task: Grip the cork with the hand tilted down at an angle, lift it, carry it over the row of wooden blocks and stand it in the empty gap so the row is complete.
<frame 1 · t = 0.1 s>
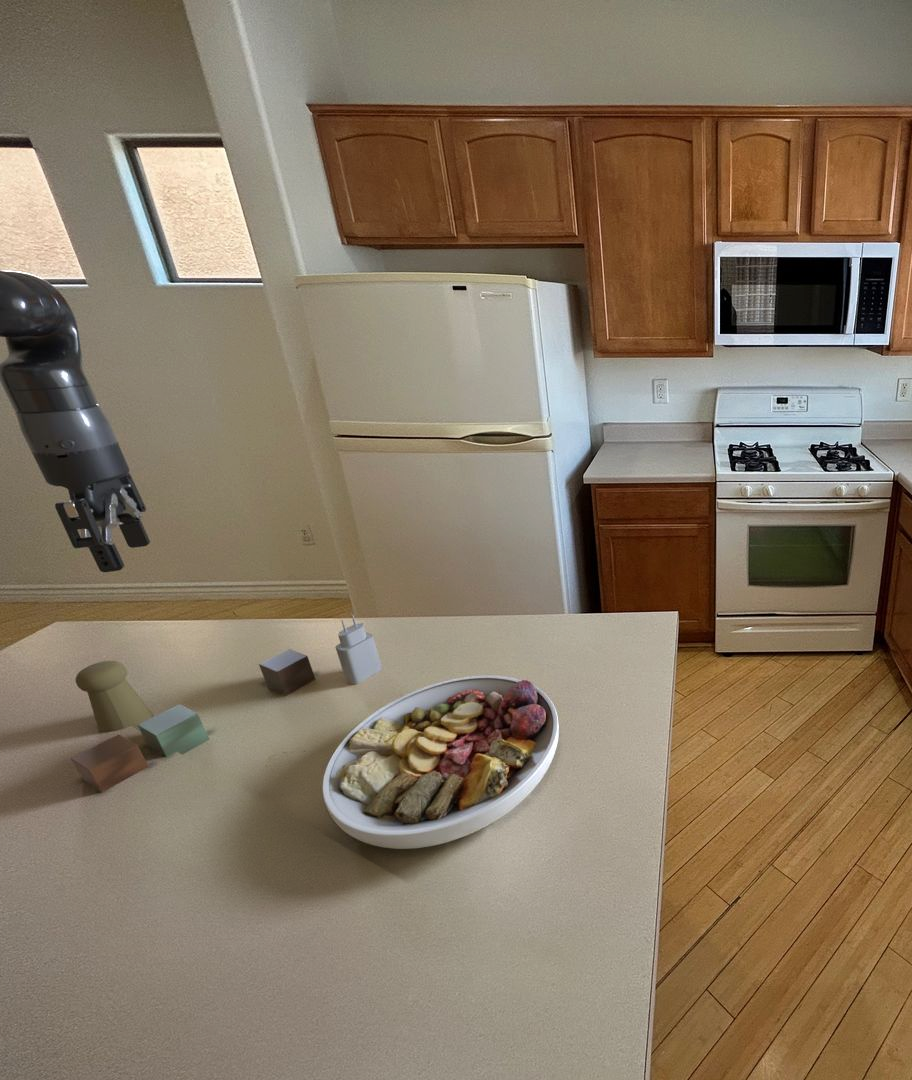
hand: (127, 557, 77), 29 cm above the counter, tool pointing down, fingers open, 8 cm apart
power adapter: (364, 675, 100), on the counter
cork: (127, 724, 87), on the counter
block row: (211, 727, 87), on the counter
bowl: (455, 768, 80), on the counter
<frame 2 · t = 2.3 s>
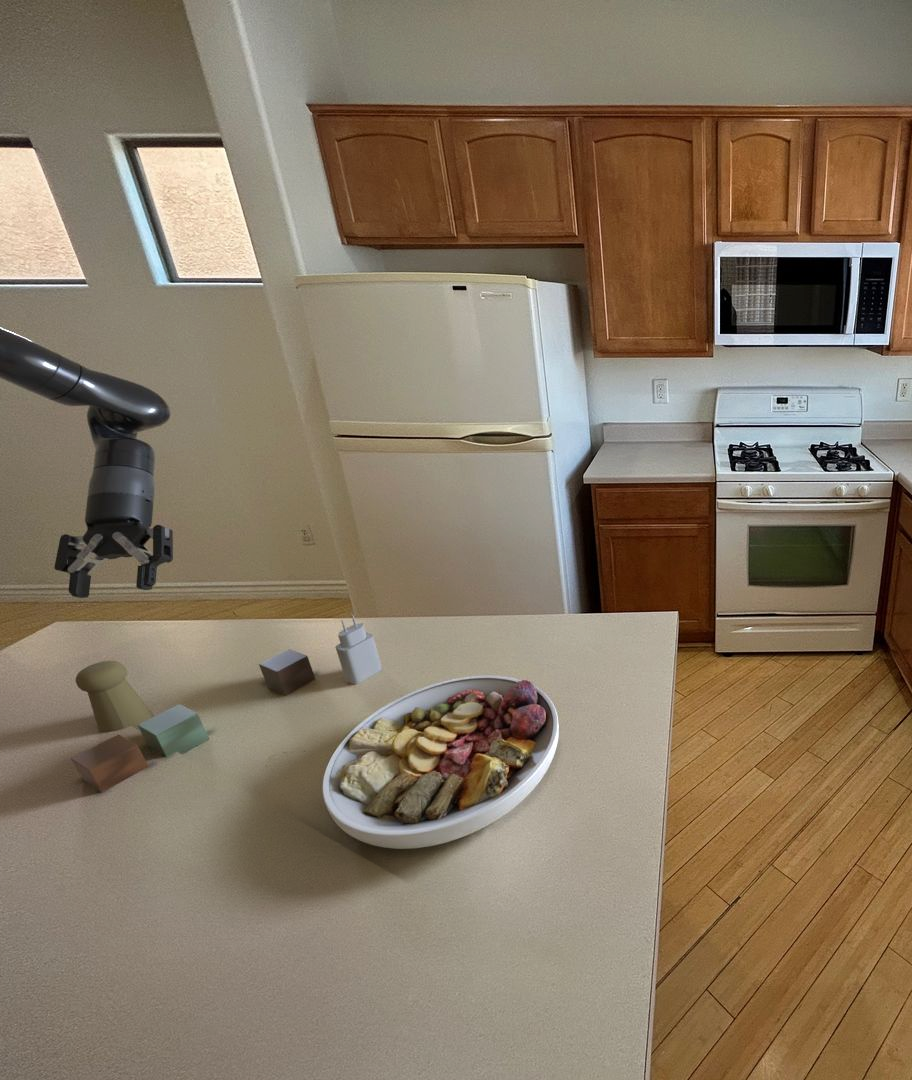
hand: (112, 593, 88), 19 cm above the counter, tool tilted 40°, fingers open, 8 cm apart
nothing on the counter moved.
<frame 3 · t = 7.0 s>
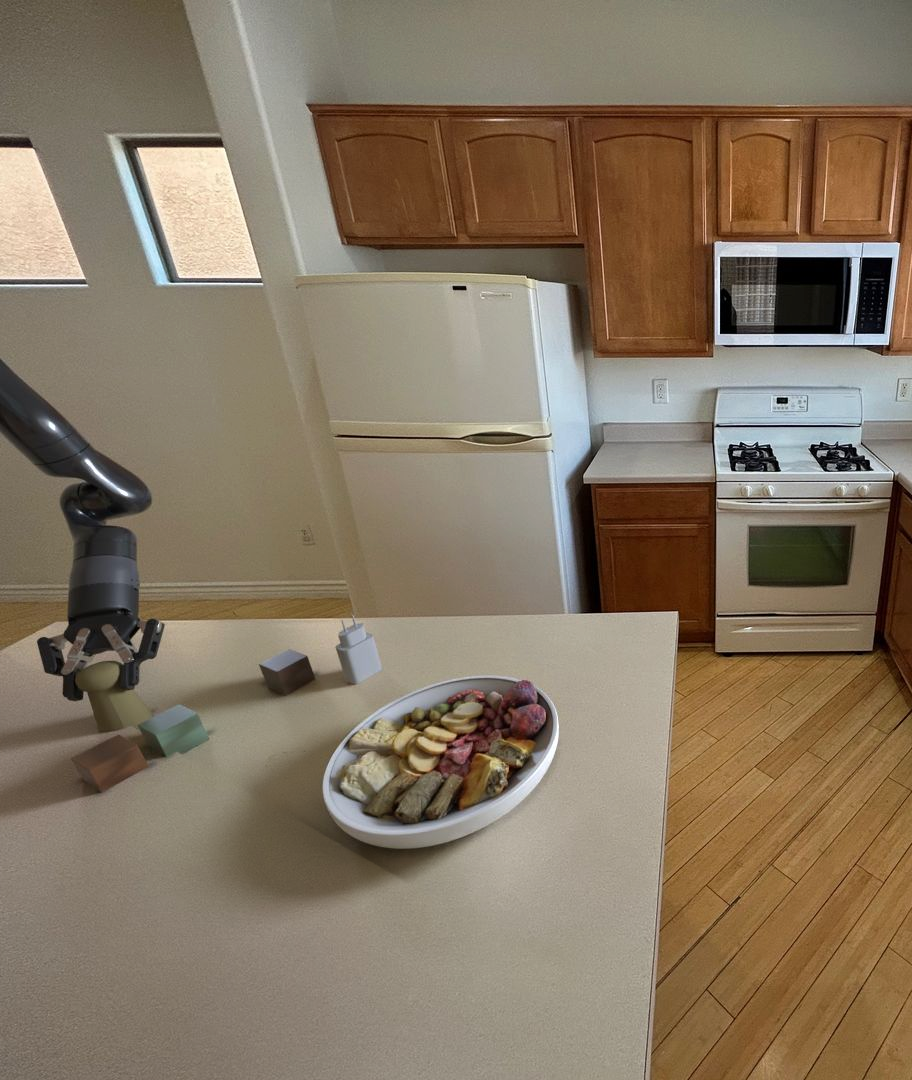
hand: (101, 694, 83), 7 cm above the counter, tool tilted 45°, fingers closed on cork, 5 cm apart
cork: (127, 724, 87), on the counter, touching gripper
everything else where it was.
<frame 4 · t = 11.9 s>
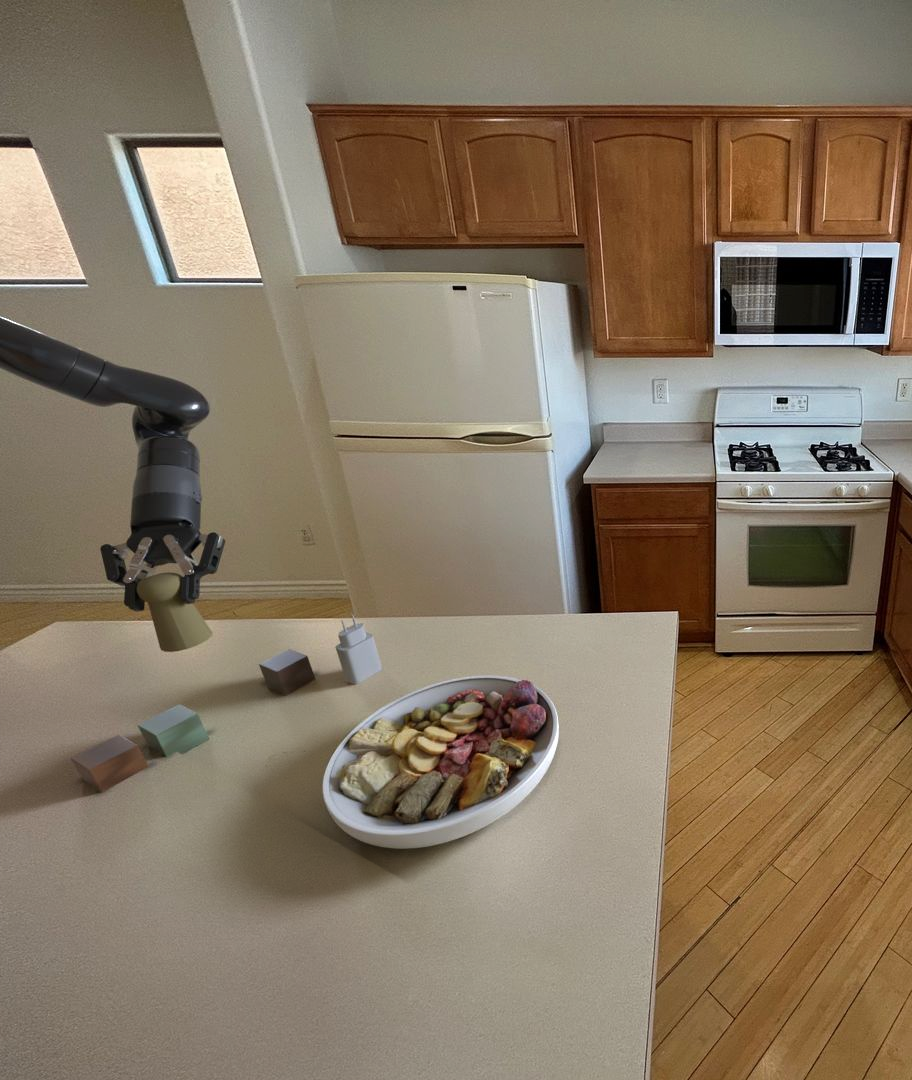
hand: (162, 605, 80), 21 cm above the counter, tool tilted 45°, fingers closed on cork, 5 cm apart
cork: (187, 641, 84), point 14 cm above the counter, touching gripper
everything else where it was.
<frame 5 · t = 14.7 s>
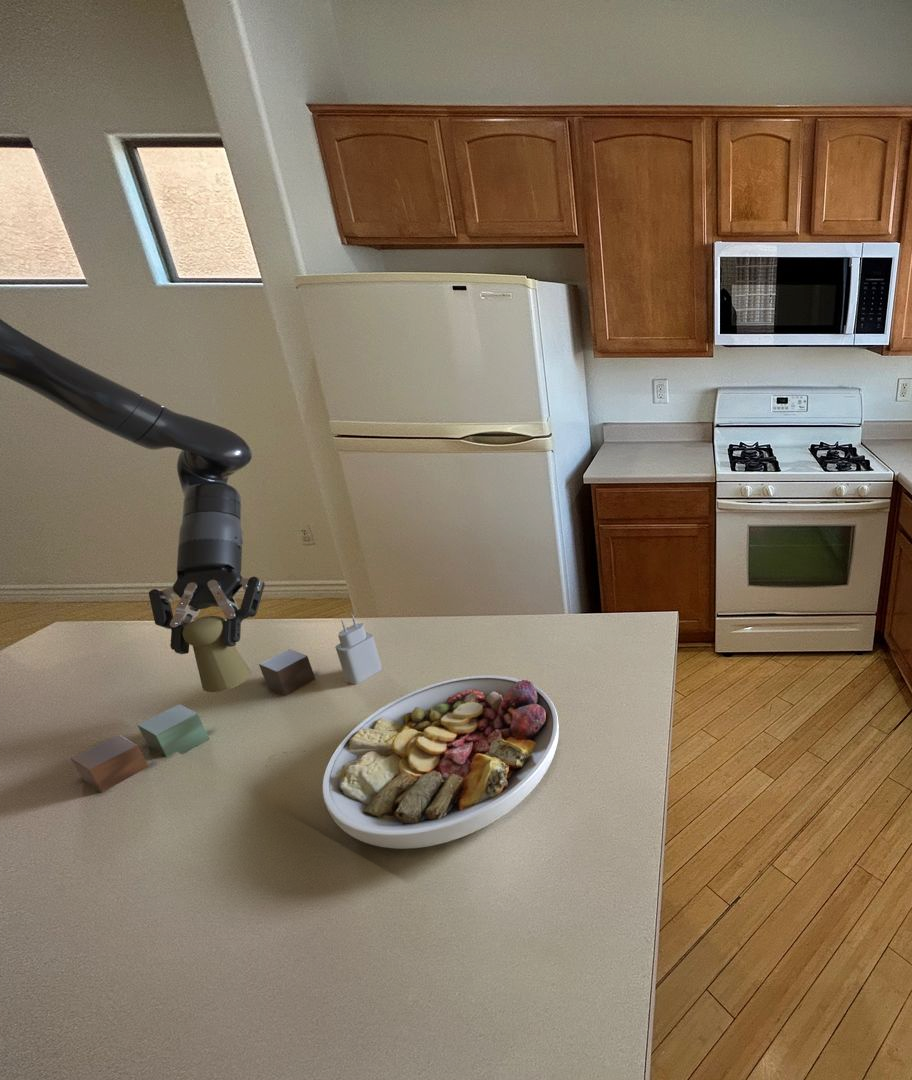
hand: (206, 648, 83), 14 cm above the counter, tool tilted 45°, fingers closed on cork, 5 cm apart
cork: (227, 680, 88), point 6 cm above the counter, touching gripper
everything else where it was.
when the fingers open (7 cm above the counter, at t = 16.9 s): cork stays where it is, on the counter.
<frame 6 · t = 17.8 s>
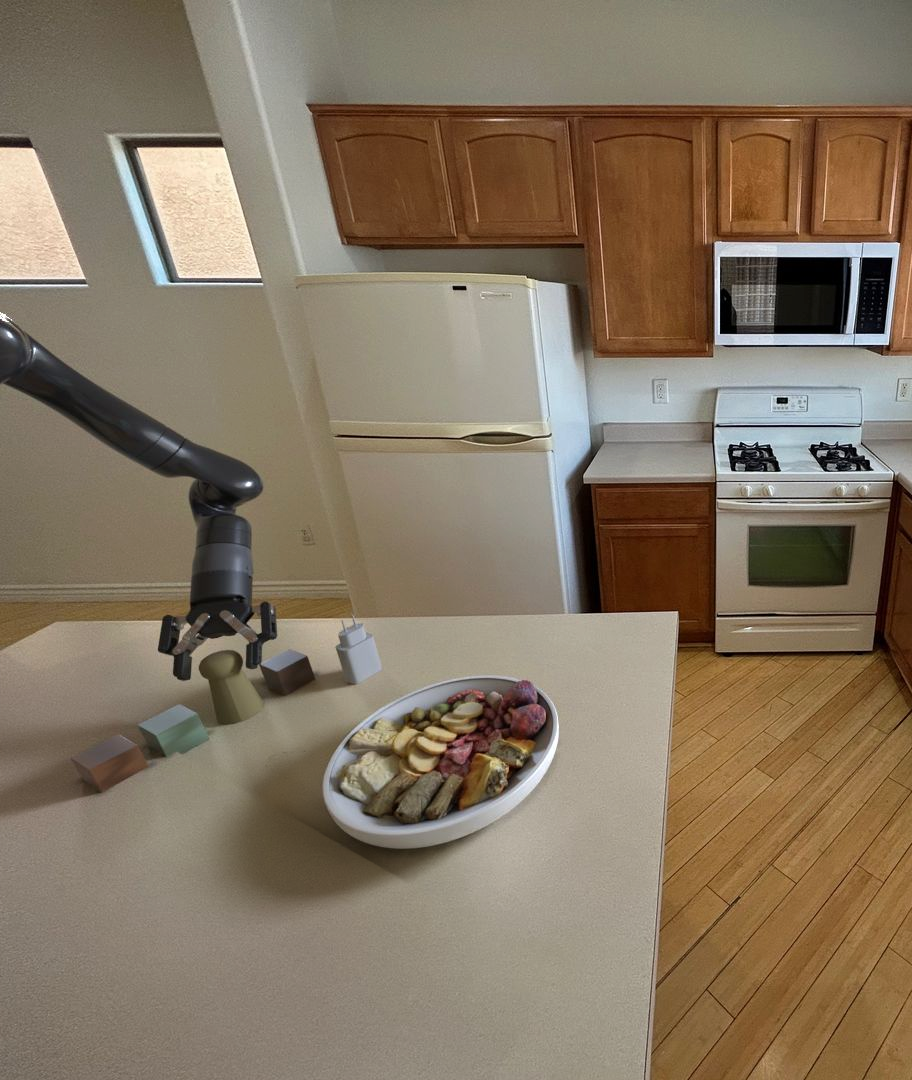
hand: (218, 673, 86), 9 cm above the counter, tool tilted 45°, fingers open, 8 cm apart
cork: (241, 712, 90), on the counter
everything else where it was.
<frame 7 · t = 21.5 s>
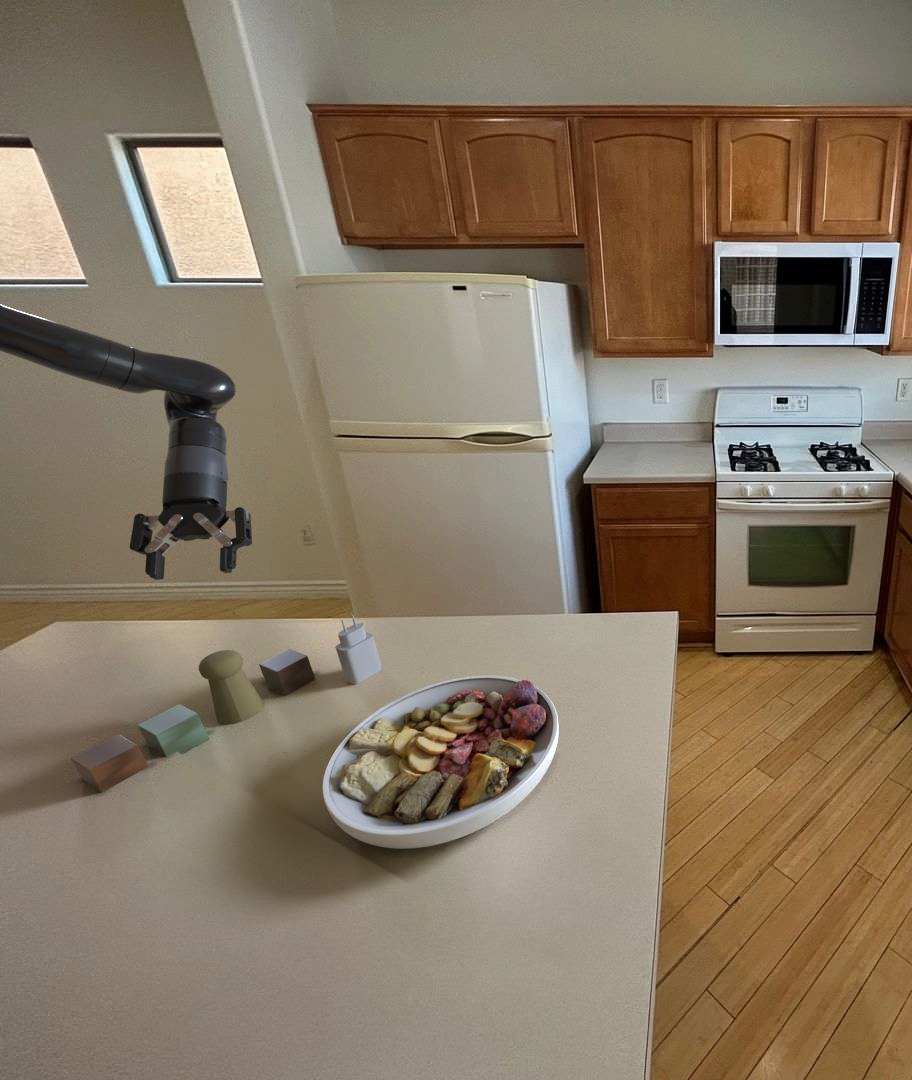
hand: (191, 575, 86), 23 cm above the counter, tool tilted 40°, fingers open, 8 cm apart
nothing on the counter moved.
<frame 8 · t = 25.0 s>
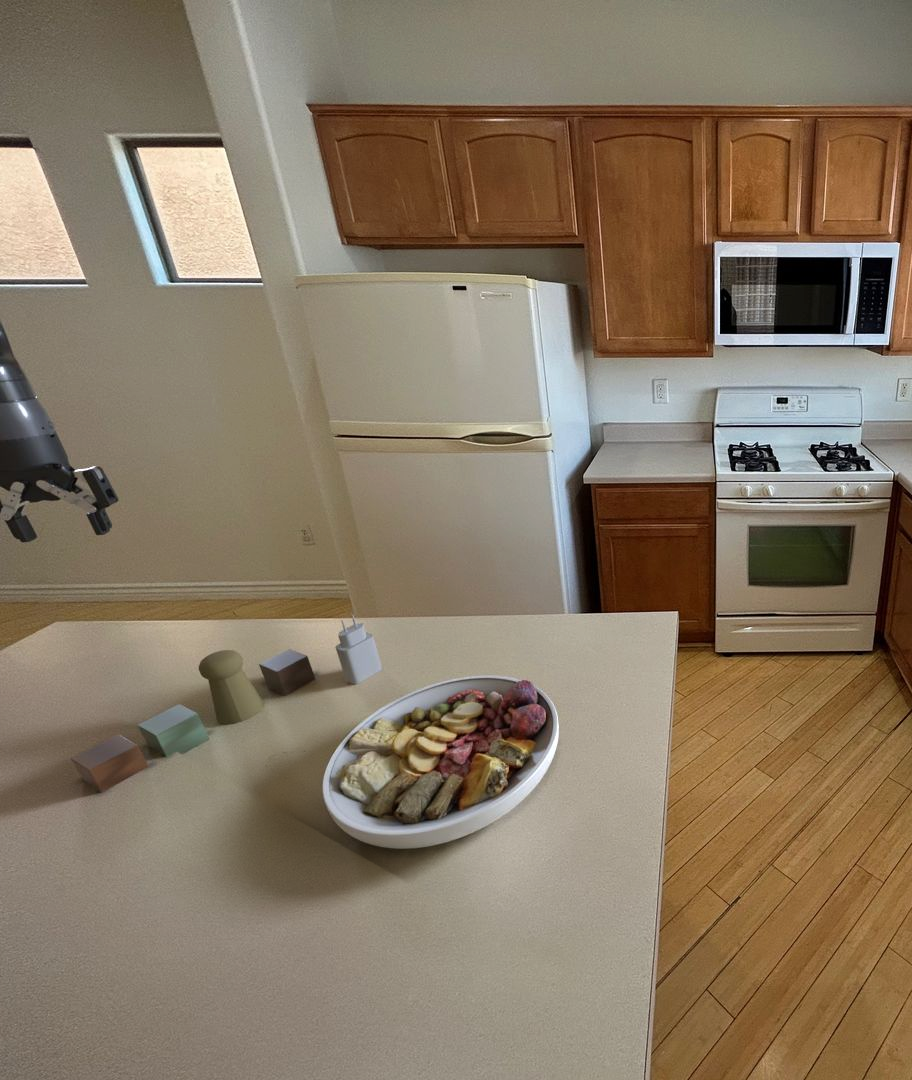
hand: (67, 536, 85), 28 cm above the counter, tool pointing down, fingers open, 8 cm apart
nothing on the counter moved.
at the end: cork 0.1 cm from the target spot, on the counter; cork tilted 0°; the gripper is holding nothing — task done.
